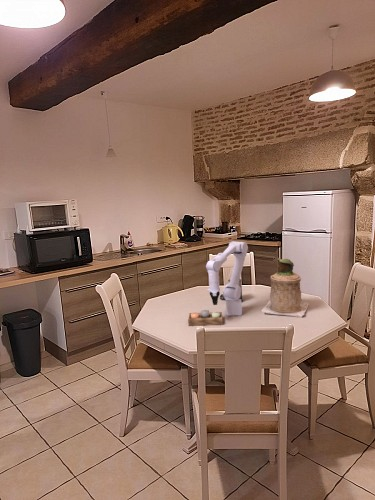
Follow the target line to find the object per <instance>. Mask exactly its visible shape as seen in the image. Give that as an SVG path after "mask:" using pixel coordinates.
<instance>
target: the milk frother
mask: <svg viewBox="0 0 375 500" xmlns="http://www.w3.org/2000/svg"><path fill="white" fill-rule="evenodd" d="M230 279H231V278H229V279H228V280H227V281H228V283H229V282H230ZM242 283H243V280H242V278H240V280H239V284H238V285H239V286H240V288H241V296H240V298H239V299H241V302H244V300H243V288H242V287H243V286H242ZM232 289H233V288H232ZM219 299H220V300H222V301H226V299H225V297H224V296H223V293H220V295H219Z"/></svg>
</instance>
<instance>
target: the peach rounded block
mask: <svg viewBox="0 0 375 500" xmlns="http://www.w3.org/2000/svg"><path fill="white" fill-rule="evenodd" d="M190 313H191V318H199V313H200V312H190Z"/></svg>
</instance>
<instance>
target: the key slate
mask: <svg viewBox="0 0 375 500" xmlns="http://www.w3.org/2000/svg"><path fill="white" fill-rule="evenodd" d="M209 312H210V311H209V310H208V309H204V310H201V311H200V313H201V318H209Z"/></svg>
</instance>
